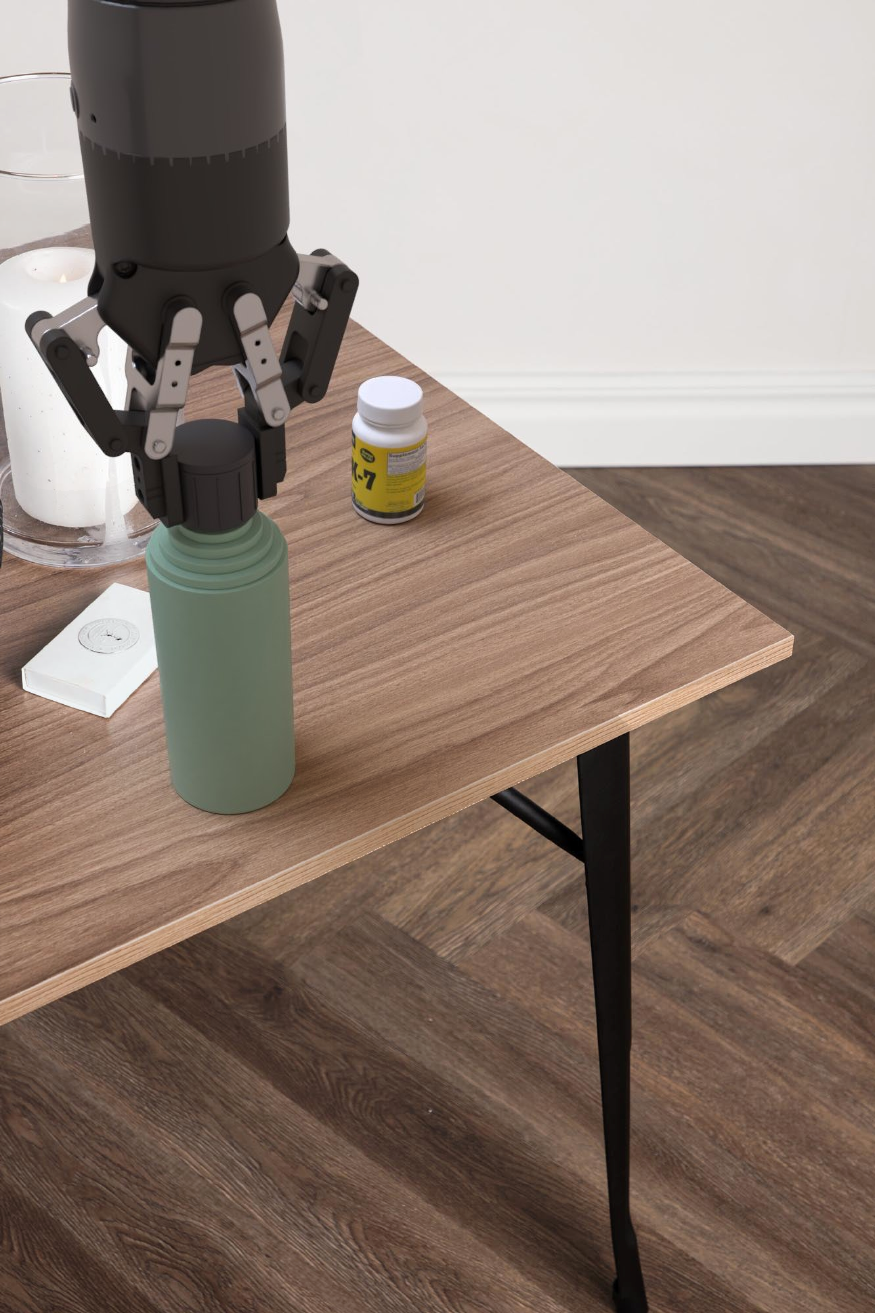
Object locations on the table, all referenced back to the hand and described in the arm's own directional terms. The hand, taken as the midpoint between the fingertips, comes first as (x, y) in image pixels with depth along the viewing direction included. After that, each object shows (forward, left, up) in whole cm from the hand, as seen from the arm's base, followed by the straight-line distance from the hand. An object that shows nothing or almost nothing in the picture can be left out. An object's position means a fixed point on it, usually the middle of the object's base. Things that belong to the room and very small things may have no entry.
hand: (214, 501), depth 62 cm
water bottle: (0, 0, -17) cm, 17 cm away
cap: (0, 0, 0) cm, 0 cm away
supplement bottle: (+19, +17, -17) cm, 30 cm away
